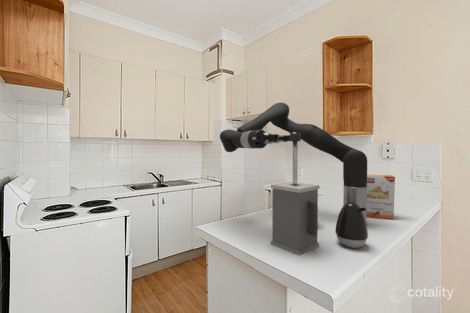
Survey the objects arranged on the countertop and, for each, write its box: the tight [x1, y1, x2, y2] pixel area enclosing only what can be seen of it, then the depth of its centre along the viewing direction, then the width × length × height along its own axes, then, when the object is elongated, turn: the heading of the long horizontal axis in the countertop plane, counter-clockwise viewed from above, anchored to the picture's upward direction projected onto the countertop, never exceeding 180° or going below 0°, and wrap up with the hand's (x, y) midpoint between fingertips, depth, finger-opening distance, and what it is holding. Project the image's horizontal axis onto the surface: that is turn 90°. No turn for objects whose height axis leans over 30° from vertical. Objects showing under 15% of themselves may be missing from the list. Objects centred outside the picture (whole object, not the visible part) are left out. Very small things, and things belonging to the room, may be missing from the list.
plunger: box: [289, 132, 301, 186], centre depth 81 cm, size 8×8×28 cm
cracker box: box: [366, 173, 396, 221], centre depth 115 cm, size 14×6×21 cm, turn 68°
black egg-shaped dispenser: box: [335, 202, 369, 249], centre depth 81 cm, size 10×10×15 cm
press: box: [270, 181, 320, 256], centre depth 81 cm, size 12×14×21 cm
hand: (285, 137), depth 84 cm, fingers open, 8 cm apart
